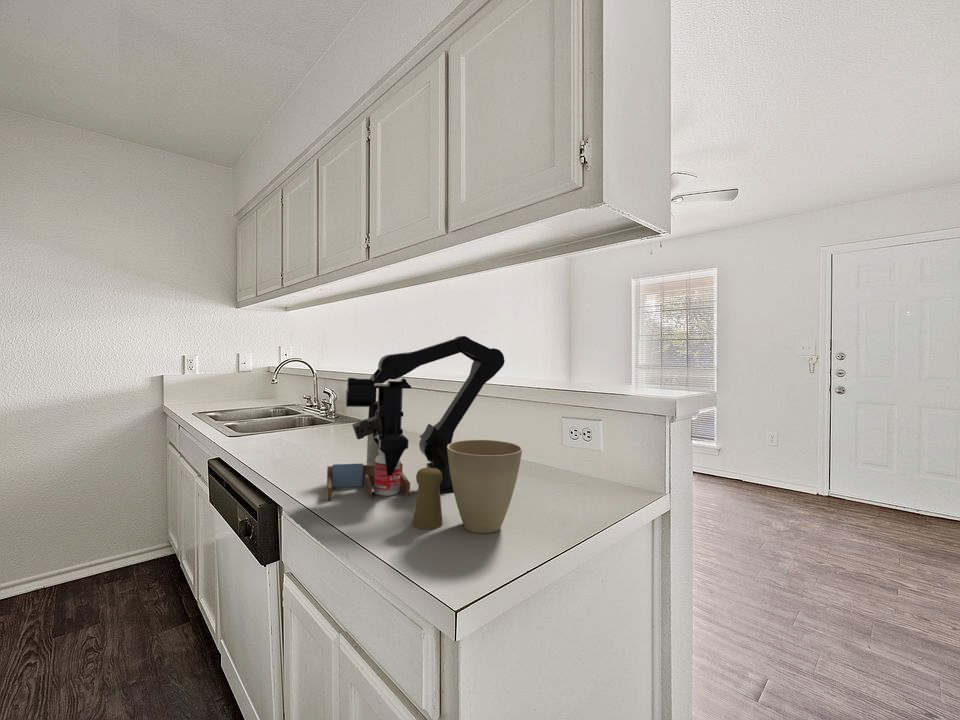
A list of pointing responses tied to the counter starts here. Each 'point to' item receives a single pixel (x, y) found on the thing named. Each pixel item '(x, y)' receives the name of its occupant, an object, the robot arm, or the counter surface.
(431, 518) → the olive green peg figure
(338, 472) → the divider rack
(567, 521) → the counter surface
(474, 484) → the plant pot
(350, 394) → the robot arm
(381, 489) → the pill bottle
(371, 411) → the spray can
